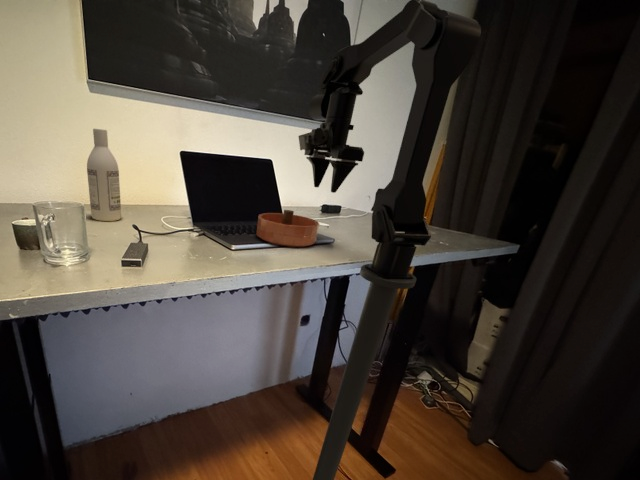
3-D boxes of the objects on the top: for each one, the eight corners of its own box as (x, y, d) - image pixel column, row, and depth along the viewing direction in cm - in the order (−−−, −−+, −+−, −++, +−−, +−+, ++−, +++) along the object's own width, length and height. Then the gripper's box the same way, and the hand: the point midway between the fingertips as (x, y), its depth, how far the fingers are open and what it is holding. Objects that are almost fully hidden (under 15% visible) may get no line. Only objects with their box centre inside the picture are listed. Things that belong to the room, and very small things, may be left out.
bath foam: (122, 216, 86) (117, 131, 77) (120, 222, 80) (114, 130, 71) (93, 214, 84) (85, 127, 75) (89, 220, 78) (80, 127, 69)
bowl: (325, 249, 76) (330, 227, 74) (266, 247, 72) (269, 225, 70) (300, 233, 89) (304, 214, 86) (249, 230, 85) (251, 211, 83)
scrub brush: (296, 241, 77) (301, 214, 75) (282, 241, 76) (287, 213, 74) (286, 233, 84) (290, 208, 81) (273, 233, 83) (276, 207, 80)
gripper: (291, 116, 81) (281, 182, 87) (325, 111, 65) (310, 193, 71) (331, 122, 84) (318, 185, 90) (374, 118, 67) (355, 196, 74)
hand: (324, 189), depth 81 cm, fingers open, 9 cm apart
